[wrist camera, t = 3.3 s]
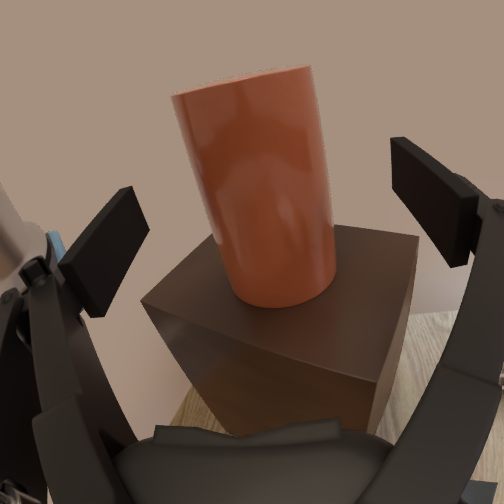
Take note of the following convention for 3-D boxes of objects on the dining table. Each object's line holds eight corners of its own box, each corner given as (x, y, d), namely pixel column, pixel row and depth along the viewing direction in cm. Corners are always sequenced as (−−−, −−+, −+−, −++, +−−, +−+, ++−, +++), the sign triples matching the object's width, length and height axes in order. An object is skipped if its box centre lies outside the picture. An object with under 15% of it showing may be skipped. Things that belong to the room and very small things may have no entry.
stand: (225, 430, 33) (139, 300, 21) (275, 358, 41) (234, 212, 28) (352, 482, 24) (377, 383, 12) (390, 392, 32) (419, 235, 20)
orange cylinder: (208, 292, 20) (141, 105, 13) (263, 233, 24) (225, 77, 18) (310, 321, 16) (266, 75, 10) (351, 246, 21) (329, 61, 14)
